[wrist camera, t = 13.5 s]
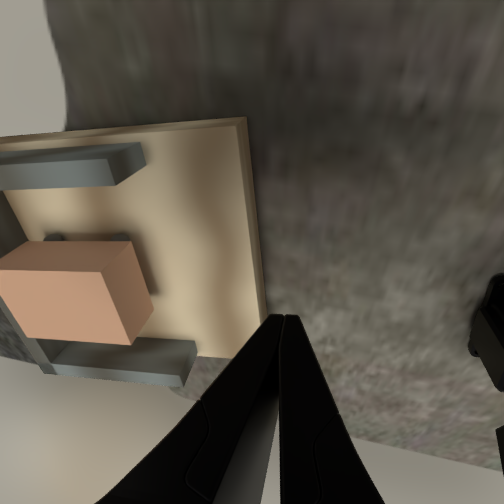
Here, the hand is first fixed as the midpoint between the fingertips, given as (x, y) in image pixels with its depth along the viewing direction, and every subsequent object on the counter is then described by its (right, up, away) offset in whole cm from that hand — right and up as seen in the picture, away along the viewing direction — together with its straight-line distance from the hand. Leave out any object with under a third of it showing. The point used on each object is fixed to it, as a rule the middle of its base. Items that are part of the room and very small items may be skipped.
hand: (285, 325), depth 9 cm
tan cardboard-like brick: (-11, +1, +12) cm, 16 cm away
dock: (-8, +2, +13) cm, 16 cm away
